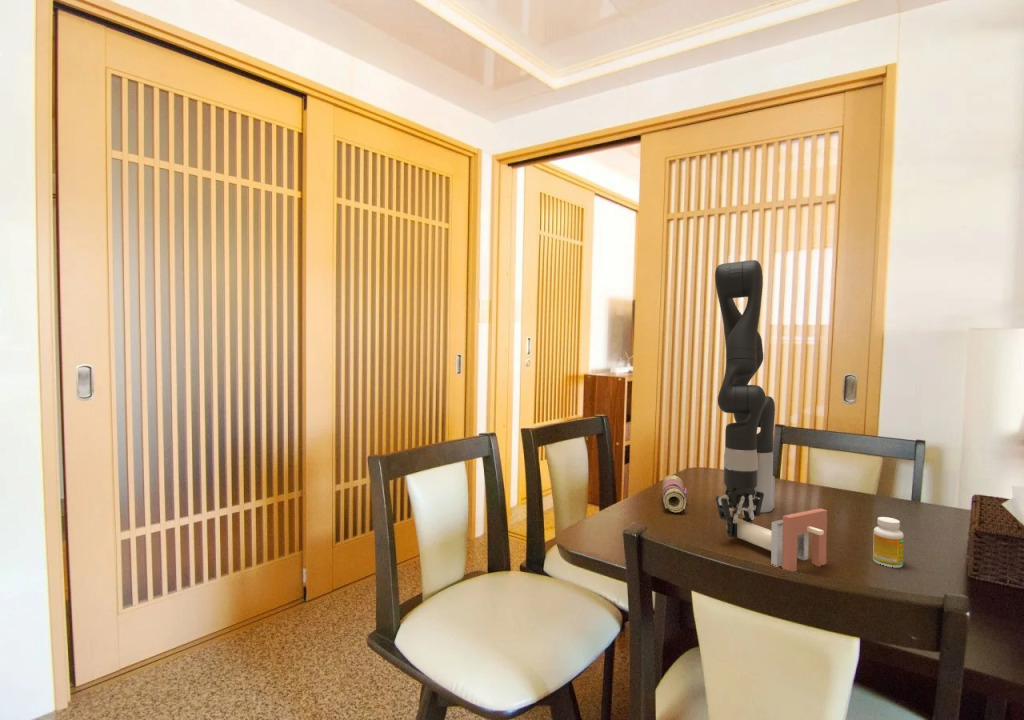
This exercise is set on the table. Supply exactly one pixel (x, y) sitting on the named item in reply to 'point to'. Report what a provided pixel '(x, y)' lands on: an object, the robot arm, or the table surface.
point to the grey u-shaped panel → (777, 544)
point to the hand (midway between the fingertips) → (739, 535)
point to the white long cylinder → (755, 534)
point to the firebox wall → (800, 525)
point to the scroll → (674, 493)
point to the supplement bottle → (888, 543)
